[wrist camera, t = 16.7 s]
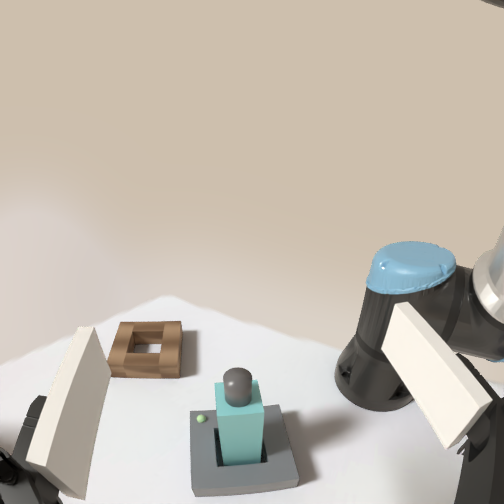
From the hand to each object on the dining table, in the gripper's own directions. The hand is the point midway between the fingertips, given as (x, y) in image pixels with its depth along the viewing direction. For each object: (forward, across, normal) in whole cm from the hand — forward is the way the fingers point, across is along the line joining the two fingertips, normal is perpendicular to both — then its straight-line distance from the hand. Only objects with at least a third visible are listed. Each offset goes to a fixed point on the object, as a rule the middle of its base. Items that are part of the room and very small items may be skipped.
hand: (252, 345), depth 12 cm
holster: (+30, -14, -29) cm, 44 cm away
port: (+9, 0, -28) cm, 30 cm away
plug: (+9, 0, -28) cm, 30 cm away
